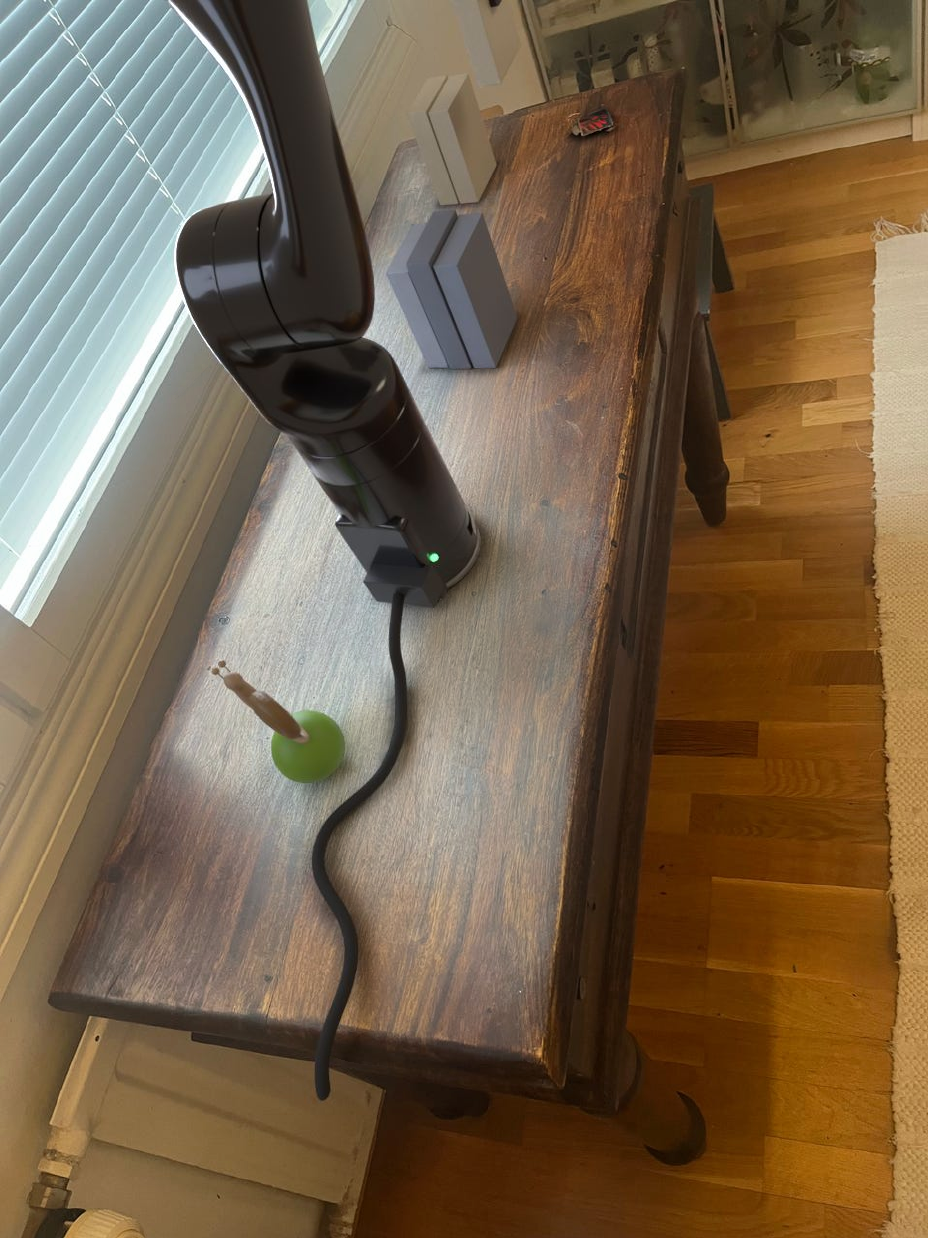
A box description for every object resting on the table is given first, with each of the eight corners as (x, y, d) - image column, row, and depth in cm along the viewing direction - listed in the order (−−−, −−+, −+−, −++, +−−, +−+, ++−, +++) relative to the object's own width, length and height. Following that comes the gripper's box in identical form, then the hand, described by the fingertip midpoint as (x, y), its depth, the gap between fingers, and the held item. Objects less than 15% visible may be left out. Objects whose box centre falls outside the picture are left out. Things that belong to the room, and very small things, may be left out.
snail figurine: (315, 713, 74) (240, 634, 65) (369, 750, 71) (298, 672, 61) (270, 767, 73) (187, 694, 63) (323, 808, 69) (243, 736, 60)
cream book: (501, 84, 94) (467, -35, 85) (477, 87, 95) (442, -30, 86) (521, 45, 97) (490, -74, 88) (498, 49, 98) (466, -68, 89)
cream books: (478, 202, 108) (447, 108, 99) (440, 205, 110) (406, 114, 101) (496, 164, 111) (468, 70, 102) (459, 169, 113) (428, 77, 104)
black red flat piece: (603, 108, 110) (602, 104, 109) (621, 125, 107) (620, 121, 106) (567, 127, 110) (566, 123, 110) (584, 144, 107) (583, 140, 106)
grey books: (495, 368, 90) (454, 260, 81) (427, 369, 94) (379, 265, 84) (518, 316, 94) (481, 206, 84) (451, 318, 97) (408, 213, 87)
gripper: (334, -172, 79) (407, 38, 92) (482, -218, 73) (538, 14, 86) (366, -211, 82) (432, -3, 96) (511, -258, 76) (560, -29, 90)
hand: (482, 4), depth 91 cm, fingers closed on cream book, 2 cm apart
